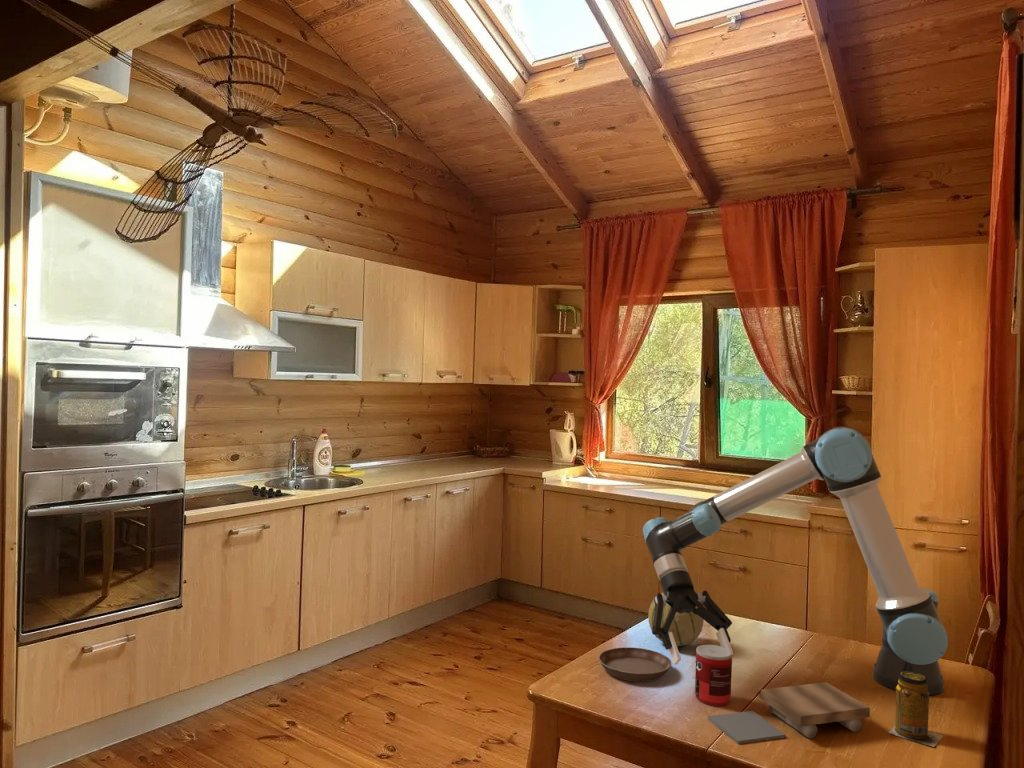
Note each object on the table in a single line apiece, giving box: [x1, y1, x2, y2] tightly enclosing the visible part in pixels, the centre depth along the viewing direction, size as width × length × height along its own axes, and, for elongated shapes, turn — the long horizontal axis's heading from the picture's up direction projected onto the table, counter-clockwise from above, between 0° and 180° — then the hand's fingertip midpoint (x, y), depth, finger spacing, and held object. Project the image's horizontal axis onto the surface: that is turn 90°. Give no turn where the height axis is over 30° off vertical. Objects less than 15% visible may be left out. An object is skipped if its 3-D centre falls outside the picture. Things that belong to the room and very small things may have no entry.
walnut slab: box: [760, 682, 871, 739], centre depth 157 cm, size 17×13×5 cm
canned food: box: [694, 644, 733, 707], centre depth 167 cm, size 8×8×11 cm
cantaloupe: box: [647, 592, 705, 647], centre depth 201 cm, size 15×15×15 cm
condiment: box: [887, 672, 944, 748], centre depth 152 cm, size 7×8×12 cm
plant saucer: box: [598, 646, 673, 683], centre depth 182 cm, size 18×18×3 cm
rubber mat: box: [707, 710, 786, 745], centre depth 153 cm, size 11×11×1 cm
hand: (704, 659), depth 169 cm, fingers open, 13 cm apart
